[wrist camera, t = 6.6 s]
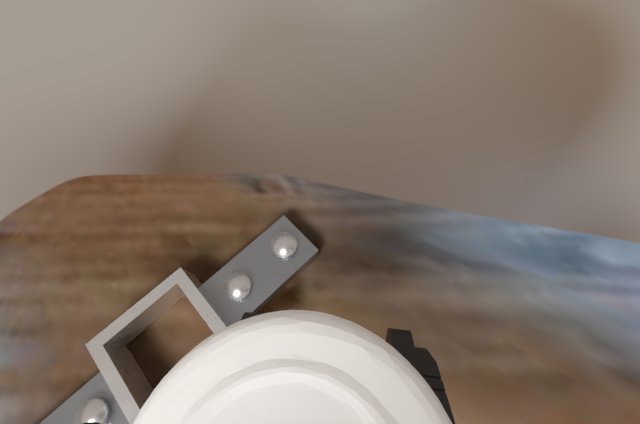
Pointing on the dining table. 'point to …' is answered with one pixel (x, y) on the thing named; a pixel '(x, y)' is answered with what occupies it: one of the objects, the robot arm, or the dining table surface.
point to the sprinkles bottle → (293, 377)
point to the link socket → (112, 340)
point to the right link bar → (260, 271)
